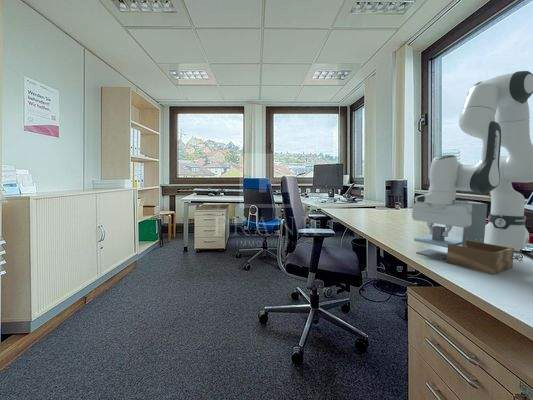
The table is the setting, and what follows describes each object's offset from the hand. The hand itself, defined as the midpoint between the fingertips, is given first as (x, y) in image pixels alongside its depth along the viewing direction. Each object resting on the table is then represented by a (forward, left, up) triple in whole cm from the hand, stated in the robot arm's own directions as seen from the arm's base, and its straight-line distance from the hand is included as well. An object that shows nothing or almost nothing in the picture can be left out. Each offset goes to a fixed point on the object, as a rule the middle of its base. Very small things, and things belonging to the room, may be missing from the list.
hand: (438, 235), depth 112 cm
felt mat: (0, -1, -8) cm, 8 cm away
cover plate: (0, 0, -3) cm, 3 cm away
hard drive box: (-17, +1, -8) cm, 19 cm away
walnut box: (0, +14, -8) cm, 16 cm away
